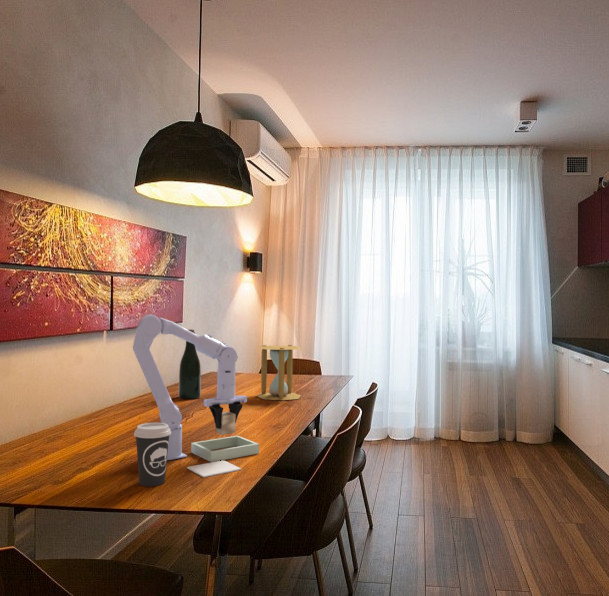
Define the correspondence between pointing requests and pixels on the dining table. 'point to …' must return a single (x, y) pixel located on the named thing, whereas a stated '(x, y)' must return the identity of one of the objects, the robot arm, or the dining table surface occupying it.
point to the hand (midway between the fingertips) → (225, 427)
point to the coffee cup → (152, 452)
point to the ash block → (227, 423)
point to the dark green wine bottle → (190, 373)
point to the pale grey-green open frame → (206, 447)
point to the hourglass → (278, 385)
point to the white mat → (213, 468)
